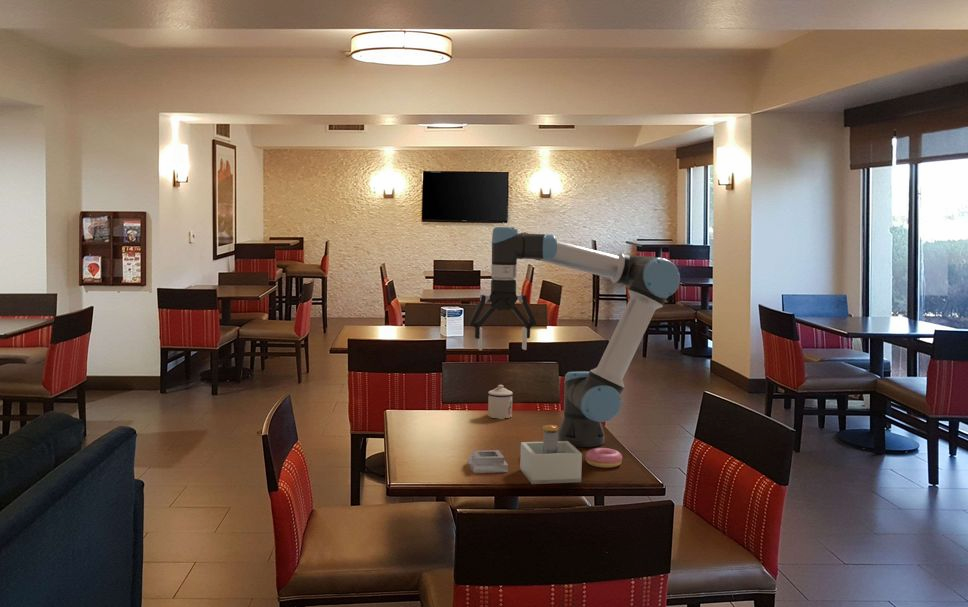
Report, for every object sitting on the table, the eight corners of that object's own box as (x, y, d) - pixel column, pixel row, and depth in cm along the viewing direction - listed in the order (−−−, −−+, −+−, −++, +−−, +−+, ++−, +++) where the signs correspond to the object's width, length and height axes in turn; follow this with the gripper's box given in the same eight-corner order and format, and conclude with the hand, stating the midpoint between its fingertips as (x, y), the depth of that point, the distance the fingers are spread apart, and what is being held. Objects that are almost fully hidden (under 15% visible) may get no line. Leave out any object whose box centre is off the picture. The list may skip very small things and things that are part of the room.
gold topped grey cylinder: (541, 469, 256) (542, 424, 255) (557, 469, 256) (558, 424, 255) (542, 473, 251) (543, 428, 250) (558, 474, 251) (559, 428, 250)
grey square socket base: (500, 462, 266) (501, 449, 266) (508, 471, 256) (508, 458, 256) (467, 463, 264) (467, 450, 264) (473, 473, 254) (473, 459, 254)
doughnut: (628, 468, 263) (629, 454, 263) (593, 470, 260) (594, 456, 260) (612, 458, 274) (613, 444, 273) (579, 460, 271) (579, 446, 270)
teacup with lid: (514, 419, 321) (514, 387, 320) (488, 419, 320) (489, 387, 319) (509, 412, 333) (510, 381, 332) (485, 412, 332) (485, 381, 331)
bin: (567, 467, 262) (567, 440, 261) (581, 482, 248) (582, 453, 247) (520, 469, 259) (520, 442, 258) (531, 483, 245) (532, 455, 244)
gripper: (464, 279, 261) (463, 351, 264) (547, 280, 266) (545, 350, 268) (460, 277, 269) (459, 347, 271) (541, 278, 274) (539, 347, 276)
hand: (502, 349), depth 270 cm, fingers open, 13 cm apart
